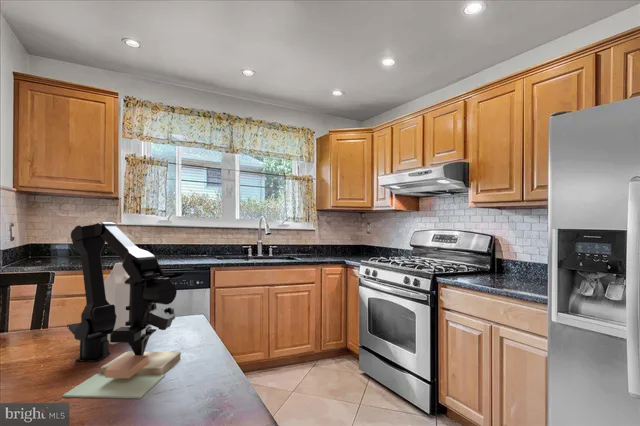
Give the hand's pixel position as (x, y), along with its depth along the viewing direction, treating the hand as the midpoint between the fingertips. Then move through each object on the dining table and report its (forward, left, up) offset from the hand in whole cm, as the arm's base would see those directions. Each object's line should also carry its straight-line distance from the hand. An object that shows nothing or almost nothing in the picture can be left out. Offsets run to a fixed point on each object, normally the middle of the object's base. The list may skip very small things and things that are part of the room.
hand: (139, 358), depth 97 cm
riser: (0, +2, -3) cm, 3 cm away
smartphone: (-43, +38, -4) cm, 57 cm away
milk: (-21, +28, -3) cm, 35 cm away
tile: (0, -5, -1) cm, 5 cm away
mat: (0, -10, -3) cm, 11 cm away
